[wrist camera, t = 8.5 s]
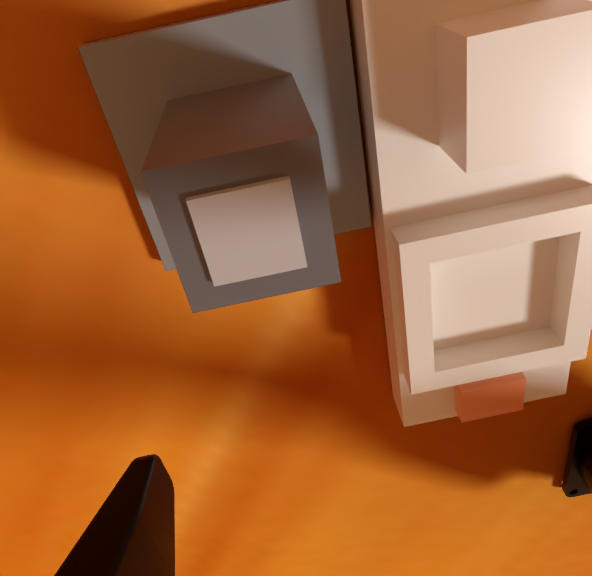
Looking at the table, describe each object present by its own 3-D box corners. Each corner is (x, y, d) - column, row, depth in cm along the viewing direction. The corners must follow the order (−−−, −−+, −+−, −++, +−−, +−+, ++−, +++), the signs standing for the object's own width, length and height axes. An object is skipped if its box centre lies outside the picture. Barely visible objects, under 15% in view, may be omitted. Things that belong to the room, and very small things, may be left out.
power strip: (544, 364, 26) (595, 434, 22) (393, 395, 26) (419, 470, 22) (708, -989, 8) (1063, -1672, 5) (251, -873, 9) (267, -1453, 5)
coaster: (368, 219, 20) (371, 226, 20) (167, 262, 20) (165, 270, 20) (340, -14, 16) (344, -13, 15) (82, 43, 16) (77, 47, 15)
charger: (312, 189, 19) (342, 286, 14) (203, 213, 19) (192, 317, 14) (291, 73, 16) (319, 137, 11) (167, 100, 16) (139, 175, 11)
